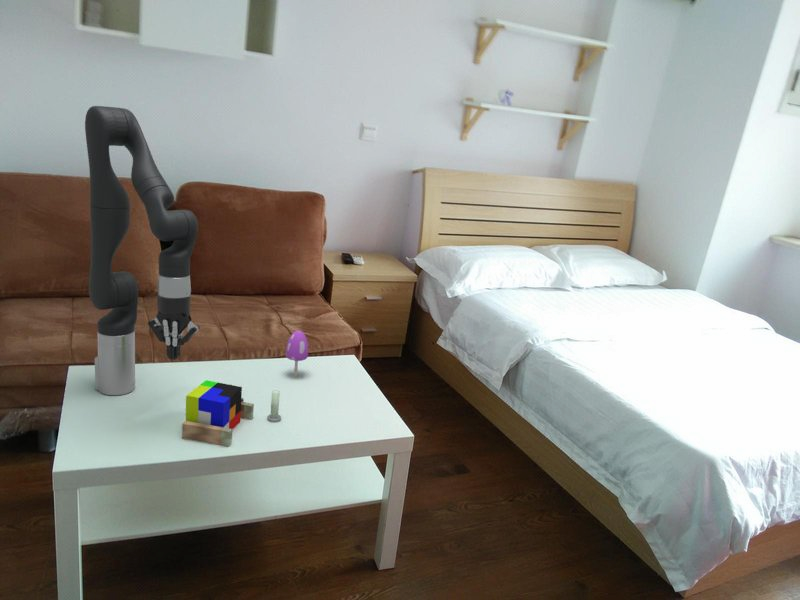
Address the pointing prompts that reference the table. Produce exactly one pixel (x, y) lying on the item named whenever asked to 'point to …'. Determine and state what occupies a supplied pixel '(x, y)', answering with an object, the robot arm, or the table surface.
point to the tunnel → (214, 429)
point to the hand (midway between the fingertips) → (173, 358)
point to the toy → (297, 348)
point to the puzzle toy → (214, 404)
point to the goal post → (274, 407)
